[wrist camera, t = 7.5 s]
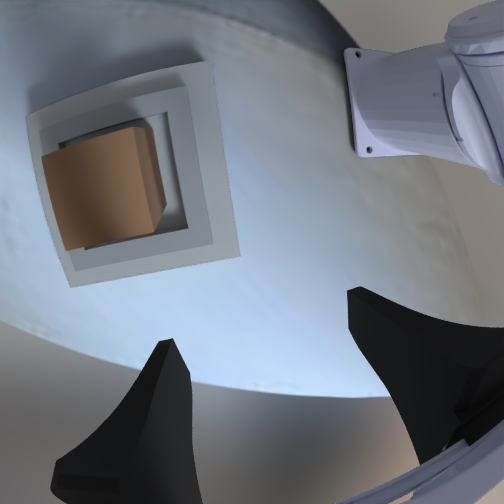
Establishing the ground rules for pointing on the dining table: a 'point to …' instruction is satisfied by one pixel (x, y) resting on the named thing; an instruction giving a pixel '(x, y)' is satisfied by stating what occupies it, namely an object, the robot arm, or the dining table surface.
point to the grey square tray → (171, 167)
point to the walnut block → (106, 187)
